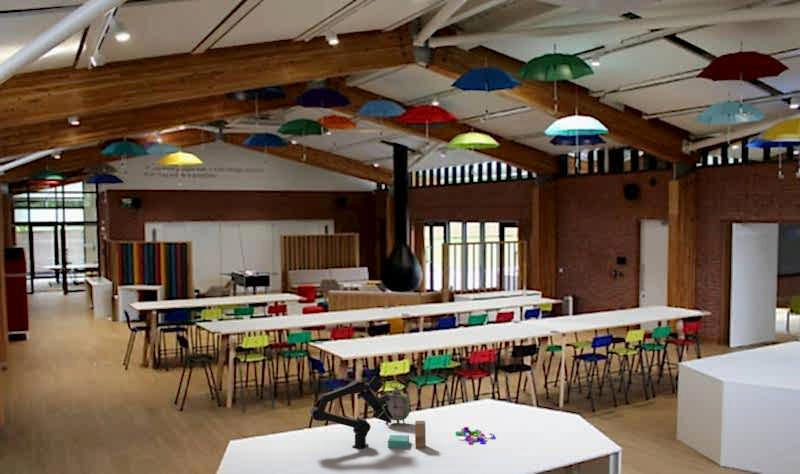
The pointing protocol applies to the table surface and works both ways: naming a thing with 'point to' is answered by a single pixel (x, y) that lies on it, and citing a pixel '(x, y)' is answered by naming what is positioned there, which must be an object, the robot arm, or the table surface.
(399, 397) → the tabletop clock
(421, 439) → the walnut pillar
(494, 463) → the table surface
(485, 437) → the building block set
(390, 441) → the teal base block
